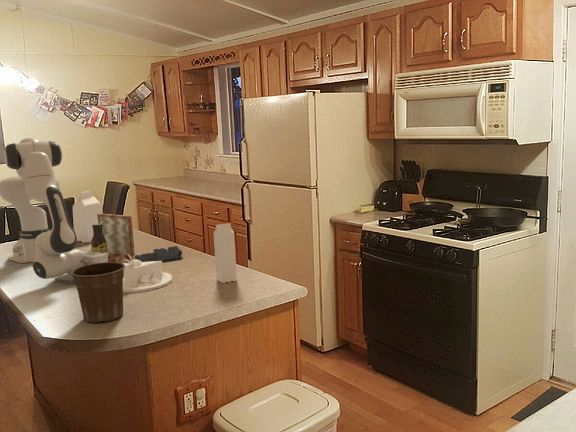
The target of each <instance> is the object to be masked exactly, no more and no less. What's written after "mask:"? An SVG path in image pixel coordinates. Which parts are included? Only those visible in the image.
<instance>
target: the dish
mask: <svg viewBox="0 0 576 432" xmlns="http://www.w3.org/2000/svg"><path fill="white" fill-rule="evenodd" d="M127 255H128V256H129V257H130V259H131V261H130V260H128V259H125V260H124V261H126V262H129V263H123V264H124V265H125V268H124V278H123V294H125V293H139V292H141V291H142V292H148V291H147V290H149V291H152V289H153V290H156V288H157V289H160V288H163V287H166V286H168V285H169V284H171V283H172V282H173V279H172V278H173V275H172V274H170V273H169V272H164V271H163V263H162V261H152V262H141V261H140V260H137V259H135V260H132V258H131V256H130V255H129V254H127ZM171 281H172V282H171ZM170 282H171V283H170ZM165 285H166V286H165ZM162 286H163V287H162Z"/></svg>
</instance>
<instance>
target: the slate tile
mask: <svg viewBox="0 0 576 432" xmlns="http://www.w3.org/2000/svg"><path fill="white" fill-rule="evenodd" d="M54 282H58V283H64V284H69V285H72V284H75V282H74V278H73V276H72V275H71V273H65V274H63V275H62V276H58V277H55V278H54Z"/></svg>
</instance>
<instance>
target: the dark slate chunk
mask: <svg viewBox="0 0 576 432" xmlns="http://www.w3.org/2000/svg"><path fill="white" fill-rule="evenodd" d="M182 254H183V251H182V250H181V249H180V248H179V247H178V245H175V246H170V247H168V248H162V247H161V248H155V249H153V252H149V253H148V252H147V253H142V254H135V255H134V256H135V259H137V260H140V261H141V262H152V261H162V264H163V263H169V262H174V261H182V260H183V259H184V257H182Z"/></svg>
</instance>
